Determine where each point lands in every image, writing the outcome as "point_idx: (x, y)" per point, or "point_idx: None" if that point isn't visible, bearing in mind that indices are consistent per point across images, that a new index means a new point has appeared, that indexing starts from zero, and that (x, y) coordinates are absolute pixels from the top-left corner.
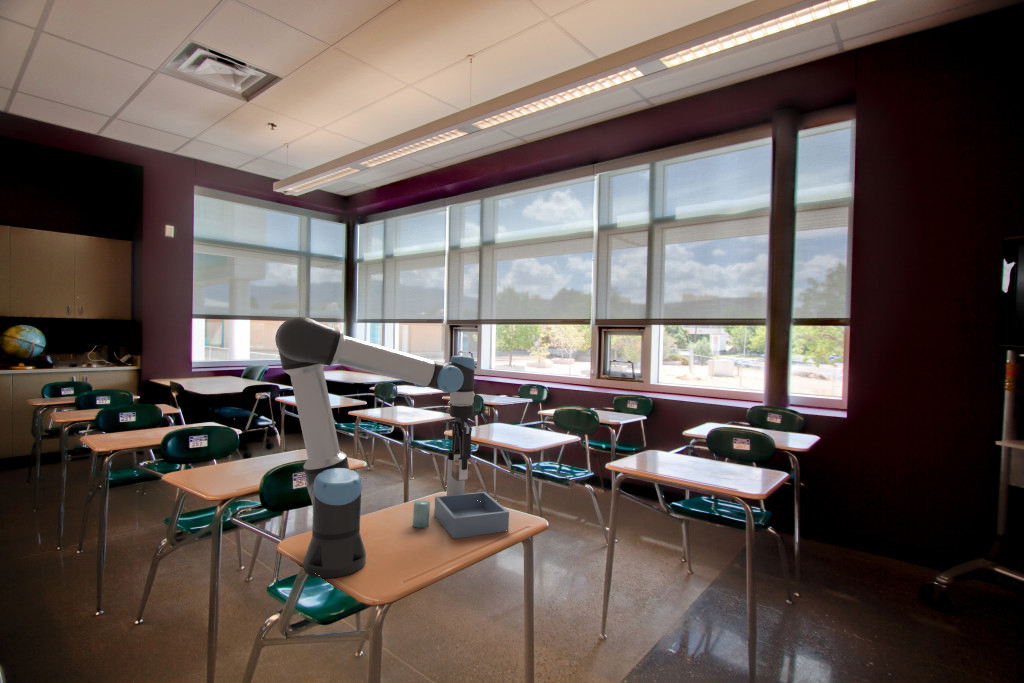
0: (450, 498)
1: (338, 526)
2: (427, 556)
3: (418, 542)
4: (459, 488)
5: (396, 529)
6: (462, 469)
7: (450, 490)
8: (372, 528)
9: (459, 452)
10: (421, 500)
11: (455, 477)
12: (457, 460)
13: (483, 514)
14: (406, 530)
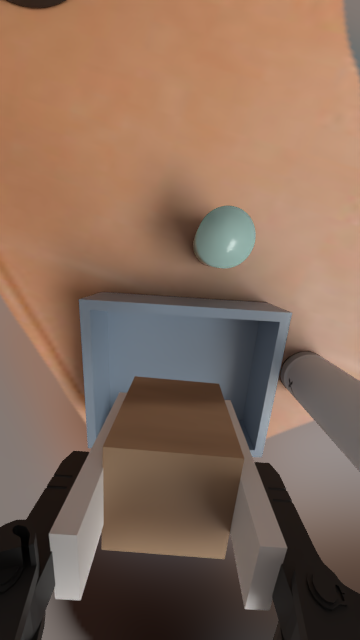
0: (269, 356)
1: None
2: (20, 198)
3: (106, 202)
4: (310, 405)
5: (211, 168)
6: (76, 453)
7: (322, 377)
8: (249, 94)
9: (280, 623)
10: (251, 244)
11: (143, 385)
12: (236, 500)
13: (87, 386)
14: (193, 195)
